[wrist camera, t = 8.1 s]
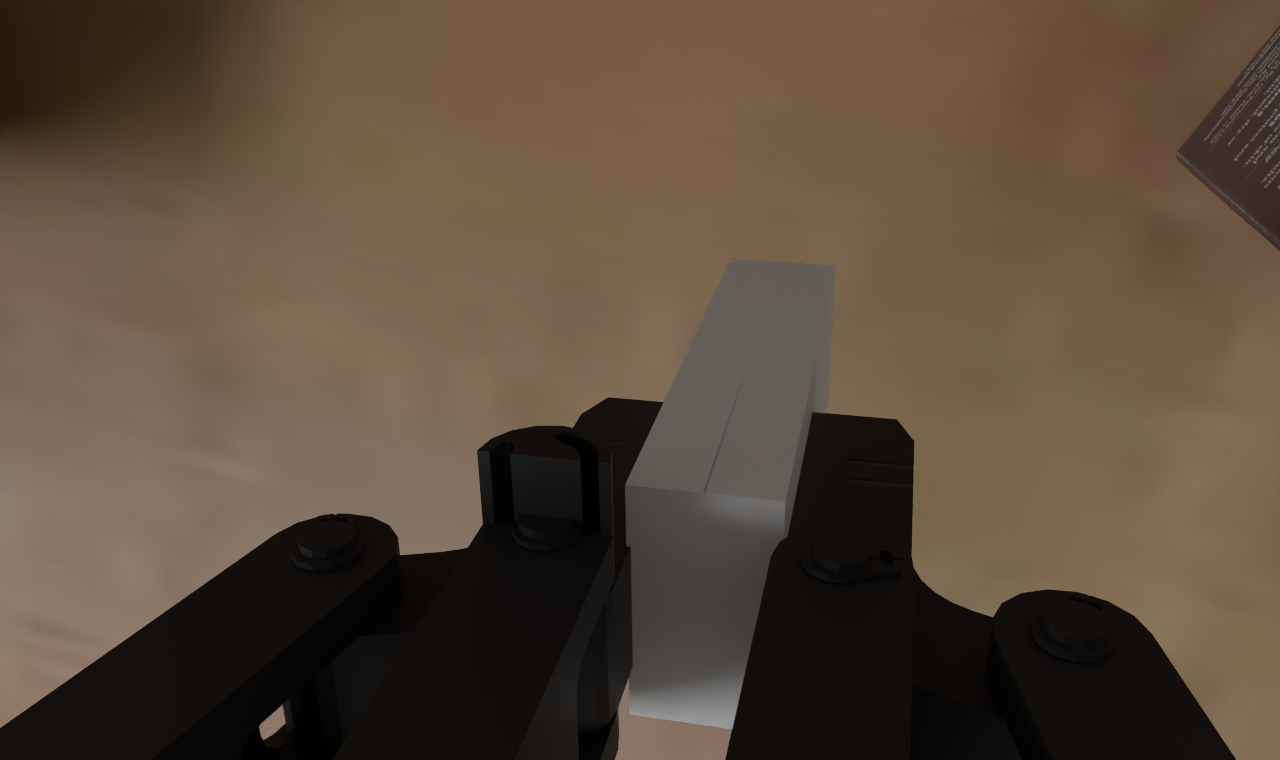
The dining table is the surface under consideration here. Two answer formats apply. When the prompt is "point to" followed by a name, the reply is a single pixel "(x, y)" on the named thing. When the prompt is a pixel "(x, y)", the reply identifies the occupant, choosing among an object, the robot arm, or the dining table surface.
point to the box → (1244, 144)
